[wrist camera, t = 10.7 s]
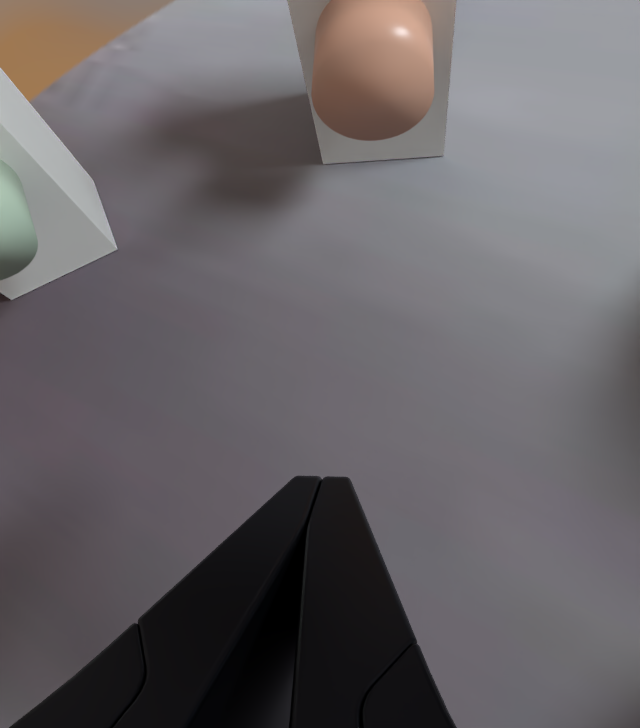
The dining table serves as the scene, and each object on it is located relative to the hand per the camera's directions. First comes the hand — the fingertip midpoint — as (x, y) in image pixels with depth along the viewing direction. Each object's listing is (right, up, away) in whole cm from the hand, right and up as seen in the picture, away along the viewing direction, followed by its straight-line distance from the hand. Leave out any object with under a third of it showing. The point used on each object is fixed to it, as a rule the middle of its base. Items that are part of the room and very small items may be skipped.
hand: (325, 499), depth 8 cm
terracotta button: (+2, +14, +14) cm, 20 cm away
